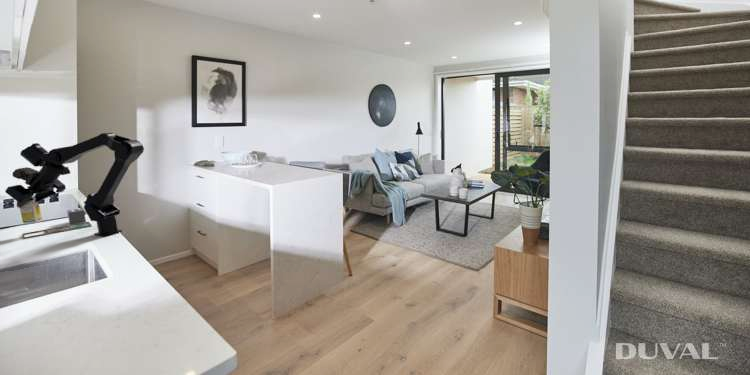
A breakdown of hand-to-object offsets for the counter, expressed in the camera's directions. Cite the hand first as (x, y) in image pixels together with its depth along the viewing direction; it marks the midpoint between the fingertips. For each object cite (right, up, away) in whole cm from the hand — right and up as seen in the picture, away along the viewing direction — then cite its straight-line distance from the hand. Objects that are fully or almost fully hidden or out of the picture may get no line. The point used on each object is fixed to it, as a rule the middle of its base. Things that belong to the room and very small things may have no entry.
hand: (25, 205), depth 136 cm
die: (+5, -8, +18) cm, 20 cm away
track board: (+6, -10, +7) cm, 14 cm away
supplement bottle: (+2, -7, +1) cm, 7 cm away
